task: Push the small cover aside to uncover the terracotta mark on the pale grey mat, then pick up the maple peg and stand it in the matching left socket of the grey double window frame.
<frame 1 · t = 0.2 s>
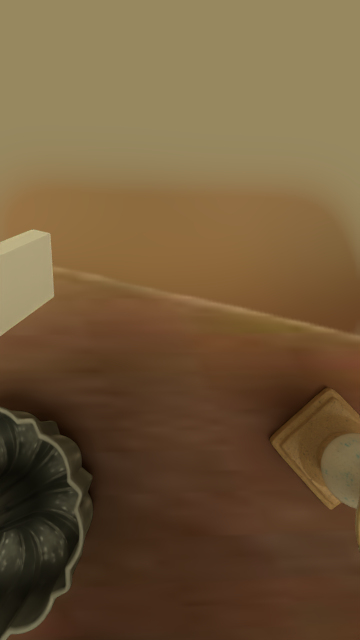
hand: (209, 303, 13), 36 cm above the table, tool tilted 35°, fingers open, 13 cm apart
bundt pan: (25, 489, 49), on the table
candle holder: (326, 444, 45), on the table
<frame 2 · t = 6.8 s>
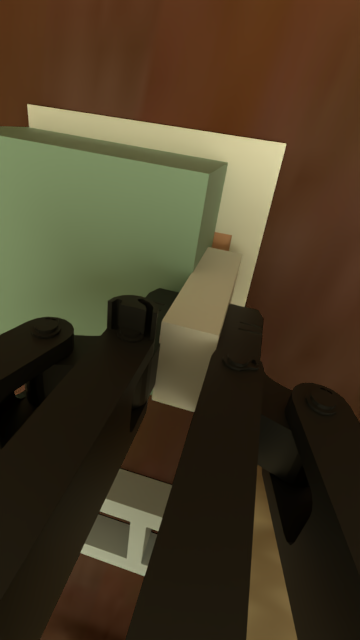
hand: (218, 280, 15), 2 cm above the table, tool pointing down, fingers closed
peg: (266, 448, 21), on the table
grey double window frame: (146, 512, 28), on the table
cover: (118, 246, 17), on the table, touching gripper
mat: (142, 250, 17), on the table
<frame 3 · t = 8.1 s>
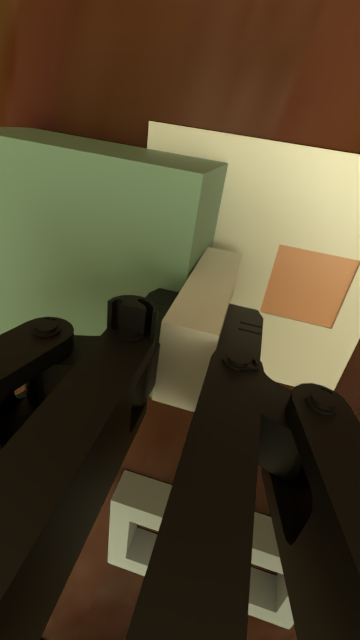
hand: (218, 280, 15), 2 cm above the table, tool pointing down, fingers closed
grey double window frame: (210, 533, 27), on the table
cover: (119, 246, 17), on the table, touching gripper, mat
mat: (252, 273, 16), on the table
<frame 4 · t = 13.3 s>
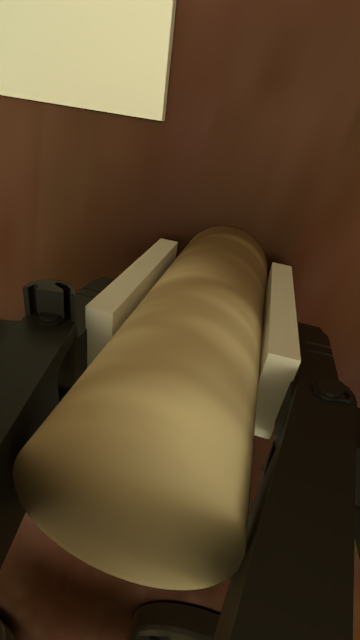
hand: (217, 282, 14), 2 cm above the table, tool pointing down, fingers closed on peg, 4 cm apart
peg: (222, 269, 16), on the table, touching gripper
when the fingers open (3 cm above the table, at t = 19.1 s): peg stays where it is, on the table.
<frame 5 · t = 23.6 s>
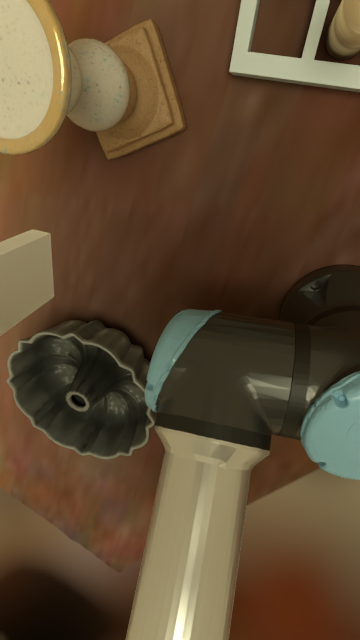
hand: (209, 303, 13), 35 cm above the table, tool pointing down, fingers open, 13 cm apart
peg: (347, 35, 34), on the table
bundt pan: (104, 366, 64), on the table
grey double window frame: (314, 30, 34), on the table
candle holder: (133, 97, 41), on the table
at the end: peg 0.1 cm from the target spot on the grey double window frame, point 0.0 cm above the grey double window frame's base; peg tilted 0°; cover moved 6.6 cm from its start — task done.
